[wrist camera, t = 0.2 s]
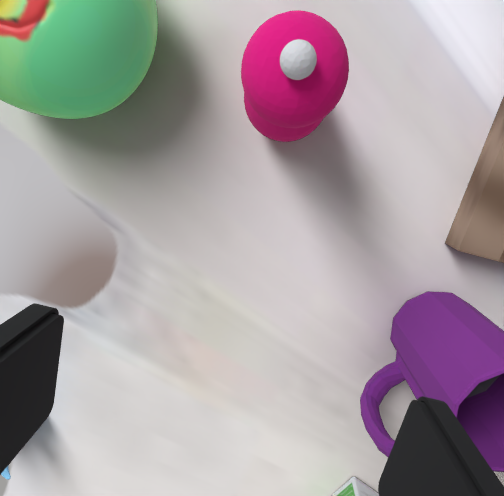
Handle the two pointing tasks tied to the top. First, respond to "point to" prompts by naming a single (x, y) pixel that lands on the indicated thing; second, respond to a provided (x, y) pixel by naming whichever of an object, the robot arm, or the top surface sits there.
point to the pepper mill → (293, 74)
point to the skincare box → (355, 489)
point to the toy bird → (74, 54)
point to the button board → (484, 201)
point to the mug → (445, 370)
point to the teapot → (6, 473)
